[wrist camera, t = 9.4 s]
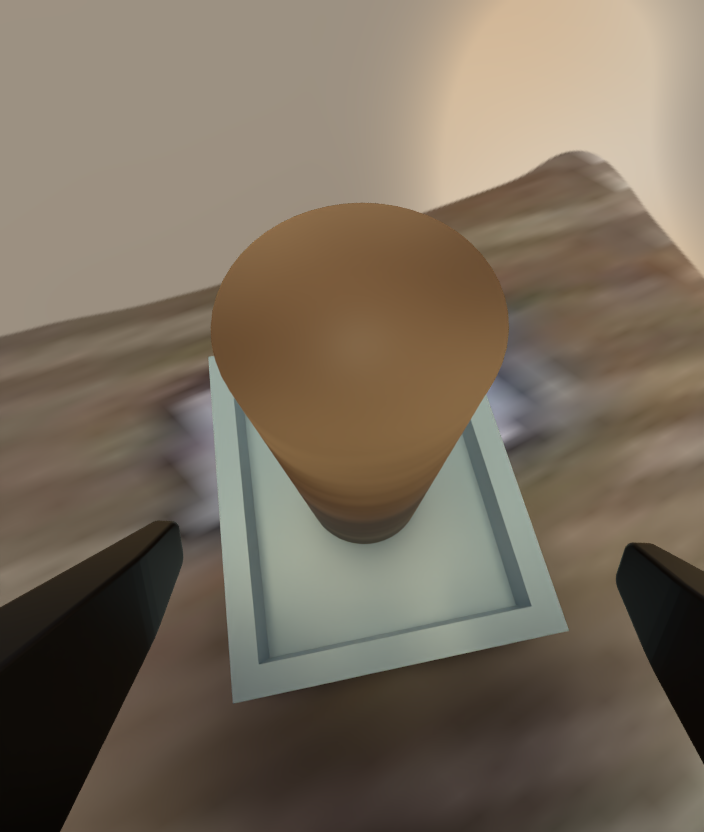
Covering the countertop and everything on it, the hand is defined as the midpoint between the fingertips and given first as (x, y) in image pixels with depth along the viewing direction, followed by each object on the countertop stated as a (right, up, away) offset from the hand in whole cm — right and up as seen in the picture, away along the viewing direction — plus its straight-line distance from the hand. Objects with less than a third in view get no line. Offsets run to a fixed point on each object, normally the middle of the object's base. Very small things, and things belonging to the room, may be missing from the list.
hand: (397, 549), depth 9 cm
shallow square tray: (0, -2, +14) cm, 14 cm away
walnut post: (0, 0, +11) cm, 11 cm away
